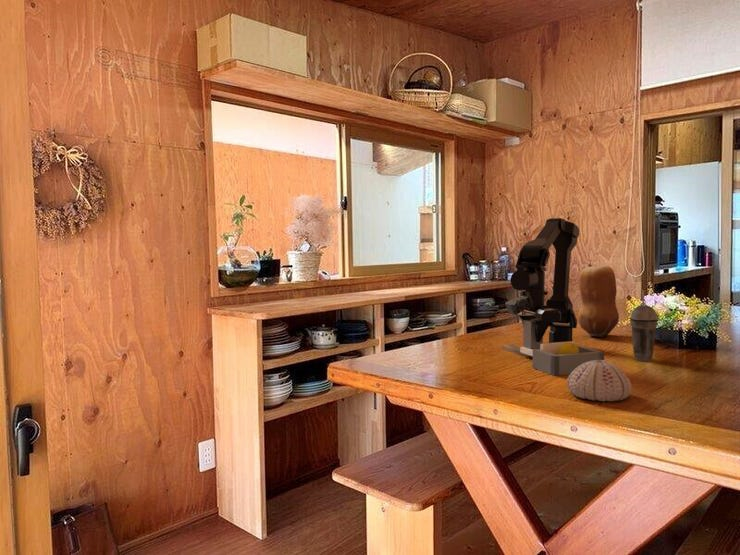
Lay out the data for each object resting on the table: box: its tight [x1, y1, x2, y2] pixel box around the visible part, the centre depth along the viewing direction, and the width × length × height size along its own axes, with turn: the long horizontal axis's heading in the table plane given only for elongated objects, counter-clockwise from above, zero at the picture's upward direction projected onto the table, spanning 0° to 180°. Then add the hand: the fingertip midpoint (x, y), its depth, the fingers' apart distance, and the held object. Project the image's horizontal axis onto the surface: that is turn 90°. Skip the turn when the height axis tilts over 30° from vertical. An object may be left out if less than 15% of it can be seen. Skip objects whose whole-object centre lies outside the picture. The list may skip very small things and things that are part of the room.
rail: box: [500, 343, 533, 359], centre depth 176 cm, size 4×16×1 cm, turn 16°
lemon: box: [556, 342, 579, 355], centre depth 152 cm, size 6×6×8 cm
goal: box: [532, 345, 605, 377], centre depth 153 cm, size 15×10×5 cm, turn 106°
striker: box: [519, 320, 576, 356], centre depth 163 cm, size 10×15×10 cm, turn 16°
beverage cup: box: [629, 289, 659, 362], centre depth 162 cm, size 7×7×20 cm
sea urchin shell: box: [566, 359, 633, 402], centre depth 127 cm, size 13×14×8 cm
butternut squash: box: [577, 265, 620, 338], centre depth 200 cm, size 14×13×25 cm
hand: (533, 340), depth 168 cm, fingers open, 5 cm apart
